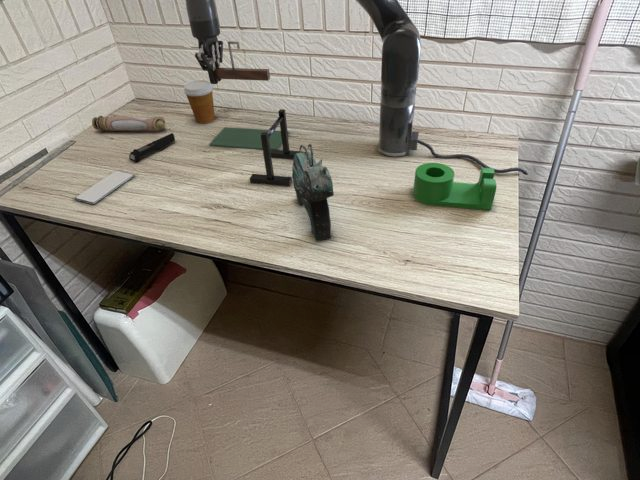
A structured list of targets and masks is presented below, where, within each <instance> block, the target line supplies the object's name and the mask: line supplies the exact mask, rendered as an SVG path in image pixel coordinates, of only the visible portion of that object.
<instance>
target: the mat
mask: <svg viewBox="0 0 640 480" xmlns="http://www.w3.org/2000/svg"><path fill="white" fill-rule="evenodd" d="M268 131H269V129H258V128H256V129H255V128H241V127H224V128H223V129H222V130H221V131H220V132H218V134H217V135H216V136H215V138H213V139H212V141H211V142H210V143H209V144H208V145H209V147H221V148H232V149H233V148H234V149H246V150H259V151H260V150H261V151H263V148H262V141H261V134H262V132H266V133H267V132H268ZM287 132H288V135H289V134H290V131H288V130H287ZM269 143H270V149H276V150H280V147H281V146H282V138H281V130H276V129H275V130H274V132H273V133H272V135H271V136H270V137H269Z"/></svg>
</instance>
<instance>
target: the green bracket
mask: <svg viewBox="0 0 640 480" xmlns="http://www.w3.org/2000/svg"><path fill="white" fill-rule="evenodd" d="M494 169H495V168H493V167H490V168H483V167H481V168H480V173H479V178H478V181H477V182H476V183H471V182H469V183H468V182H455V175H456V173H455V171H454V169H453V168H452V167H451V166H449V165H447V164H444V163H440V162H425V163H422V164H420V165H418V166H416V168H415V172H414V180H413V190H412V196H413V198H414V199H415V200H416V202H418V203H420V204H423V205H425V206H435V207H446V208H447V207H448V208H458V209H460V208H461V209H469V210H470V209H471V210H483V211H492V208H493V204H494V200H495V195H496V192H497V180H496V178H495V174H496V173H494Z"/></svg>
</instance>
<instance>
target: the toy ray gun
mask: <svg viewBox="0 0 640 480" xmlns="http://www.w3.org/2000/svg"><path fill="white" fill-rule="evenodd" d="M307 147H308V149H309V148H310V149H309V150H310V152H309V151H308V149H307V148H306V146H305V145H304V144H301V145H300V146H299V150H298V151H299V153H296V154H295V155H294V159H292V160H293V161H292V166H291V167H292V171H291V172H292V175H291V177H292V184H293V189H294V191H295V195H296V196H295V197H296V200H297V203H298V205H299V206H303V207H304V209H305V212H306V213H307V216H308V219H309V222H310V230H311V234H312V236H313V237H314V240H315V242H319V241H325V240H328V239H331V238H332V237H331V236H332V234H331V233H332V231H331V230H332V229H331V227H332V225H331V224H332V222H331V214H330V207H329V202H328V201H329V200H328V198H331V197H334V195H335V193H334V185H333V179H332V176H331V172H330V170H329V169H328V168H327V166H325V165H323V158H321V159H320V160H319V161H316V159H315V157H314V150H313V145H312V143H309V144H308V145H307ZM302 149H304V152H301V151H302Z"/></svg>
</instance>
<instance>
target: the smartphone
mask: <svg viewBox="0 0 640 480" xmlns="http://www.w3.org/2000/svg"><path fill="white" fill-rule="evenodd" d="M134 176H135V175H134V174H133V173H130V172H126V171H121V170H113V171H112V172H111V173H109V174H108V175H106V176H105V177H104V178H102V179H101V180H99V181H97V182H96V183H95V184H93V185H92V186H90V187H88V188H87V189H85V190H84V191H83V192H81V193H78V195H76V196H74V200H76V201H79V202H83V203H85V204H86V203H87V204H89V205H94V204H97V203H98V202H99V201H101V200H102V199H103V198H106V197H107V196H108V195H109V194H111V193H112V192H114V191H115V190H116V189H117V188H119V187H121V186H122V185H123V184H125V183H126V182H128V181H129V180H131V179H132V178H133V177H134Z"/></svg>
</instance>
